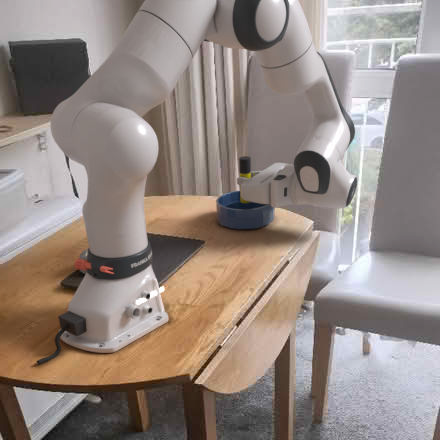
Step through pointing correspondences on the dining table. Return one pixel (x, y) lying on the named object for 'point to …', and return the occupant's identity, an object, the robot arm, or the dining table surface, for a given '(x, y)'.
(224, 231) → the dining table surface
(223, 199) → the bowl
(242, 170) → the highlighter
